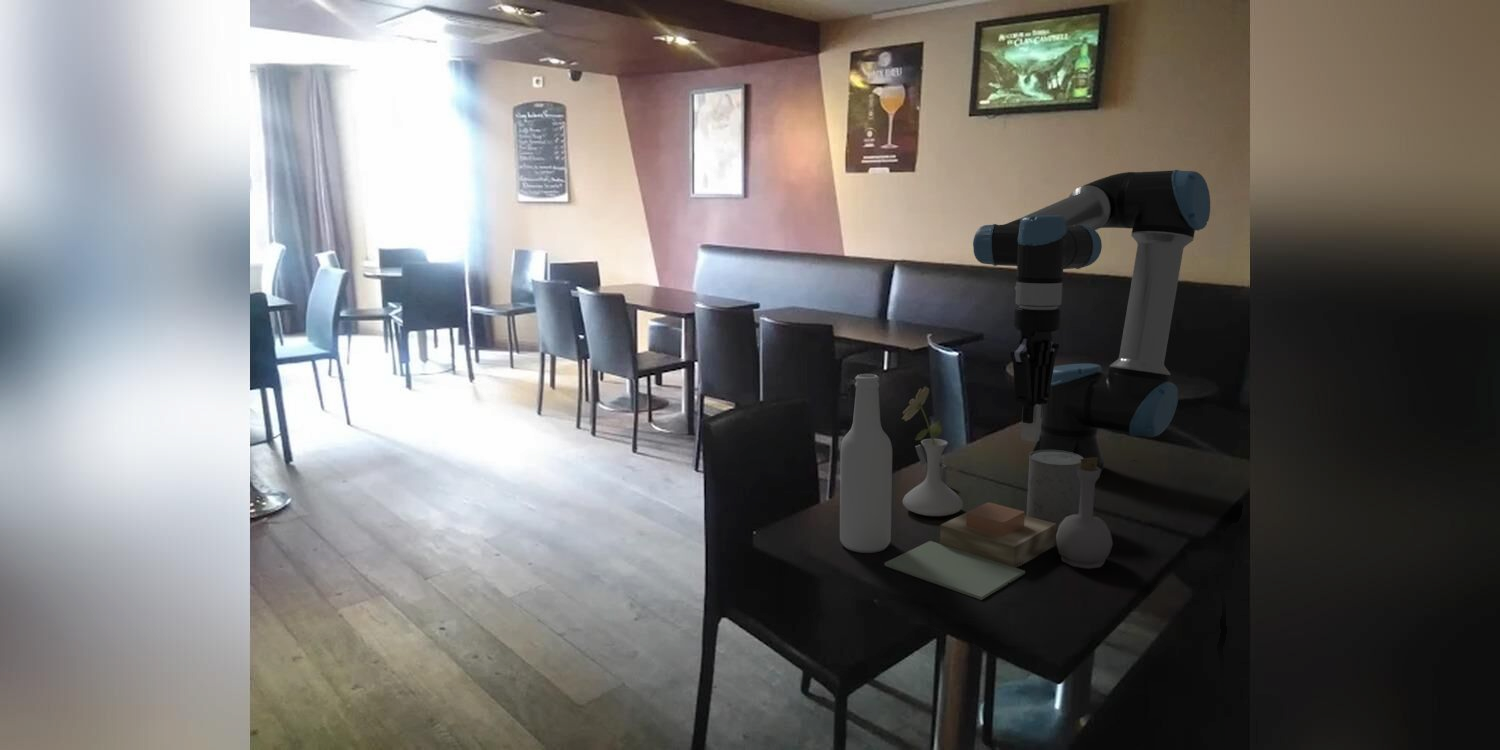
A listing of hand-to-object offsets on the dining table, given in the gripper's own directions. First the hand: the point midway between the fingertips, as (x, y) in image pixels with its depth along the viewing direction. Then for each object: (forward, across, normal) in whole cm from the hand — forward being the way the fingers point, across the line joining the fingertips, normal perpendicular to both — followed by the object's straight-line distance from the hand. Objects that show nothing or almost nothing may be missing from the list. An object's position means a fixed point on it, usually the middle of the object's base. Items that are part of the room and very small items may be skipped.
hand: (1030, 439), depth 154 cm
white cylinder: (+17, -8, +1) cm, 19 cm away
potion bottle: (+17, +5, +13) cm, 22 cm away
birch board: (+17, +10, 0) cm, 20 cm away
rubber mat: (+17, +23, 0) cm, 29 cm away
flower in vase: (+17, +4, -18) cm, 25 cm away
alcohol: (+18, +25, -17) cm, 35 cm away
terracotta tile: (+13, +11, 0) cm, 17 cm away
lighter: (+17, -11, -28) cm, 35 cm away
